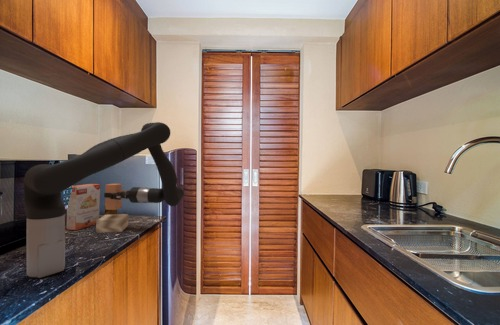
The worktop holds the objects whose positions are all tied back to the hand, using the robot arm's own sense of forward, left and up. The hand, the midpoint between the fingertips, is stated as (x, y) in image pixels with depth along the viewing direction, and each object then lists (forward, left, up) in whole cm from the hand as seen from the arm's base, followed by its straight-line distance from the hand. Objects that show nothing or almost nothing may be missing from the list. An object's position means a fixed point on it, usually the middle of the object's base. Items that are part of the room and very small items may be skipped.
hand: (108, 194), depth 119 cm
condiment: (+14, -9, -17) cm, 24 cm away
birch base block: (-2, -1, -17) cm, 17 cm away
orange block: (-2, -1, -7) cm, 8 cm away
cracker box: (+12, +6, -17) cm, 22 cm away
